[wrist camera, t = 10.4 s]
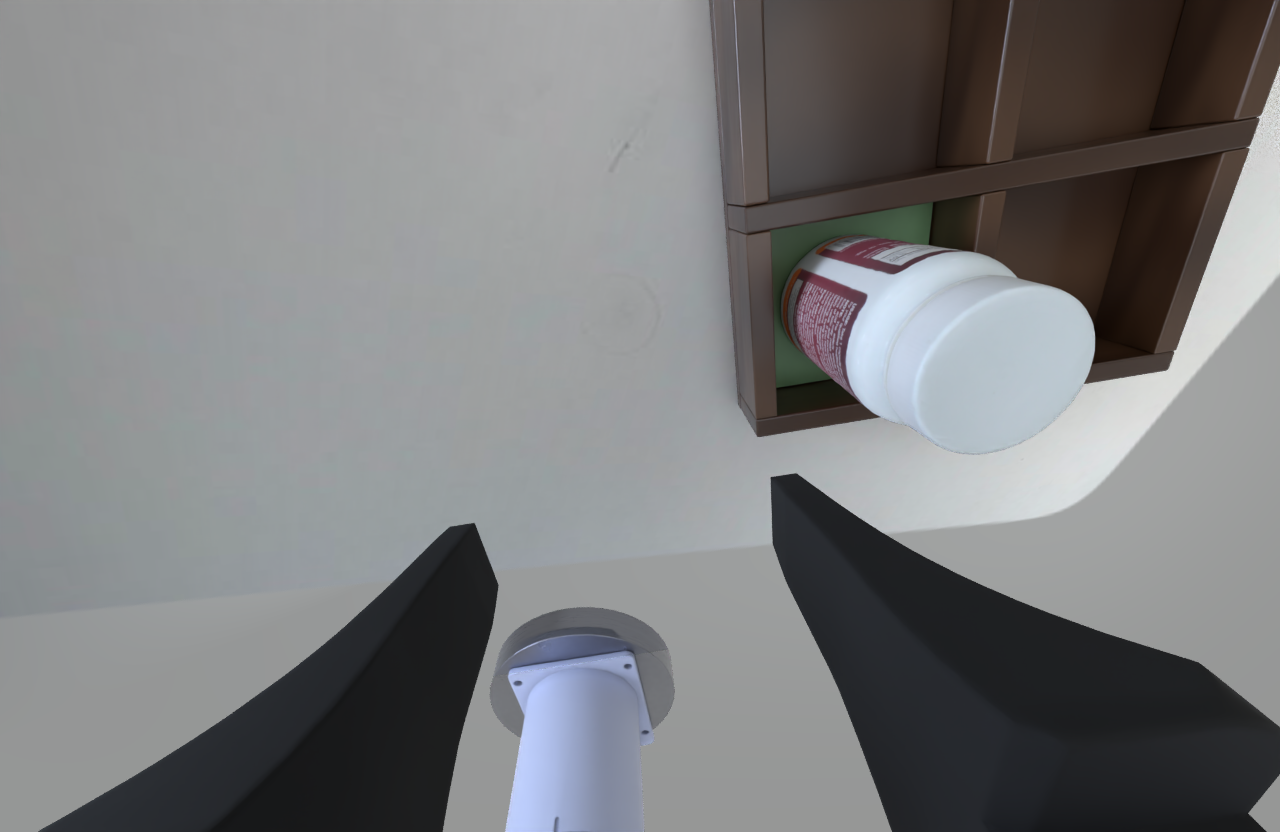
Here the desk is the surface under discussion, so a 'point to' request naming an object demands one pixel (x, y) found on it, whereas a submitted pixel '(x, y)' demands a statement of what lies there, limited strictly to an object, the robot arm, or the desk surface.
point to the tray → (983, 157)
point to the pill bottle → (939, 339)
